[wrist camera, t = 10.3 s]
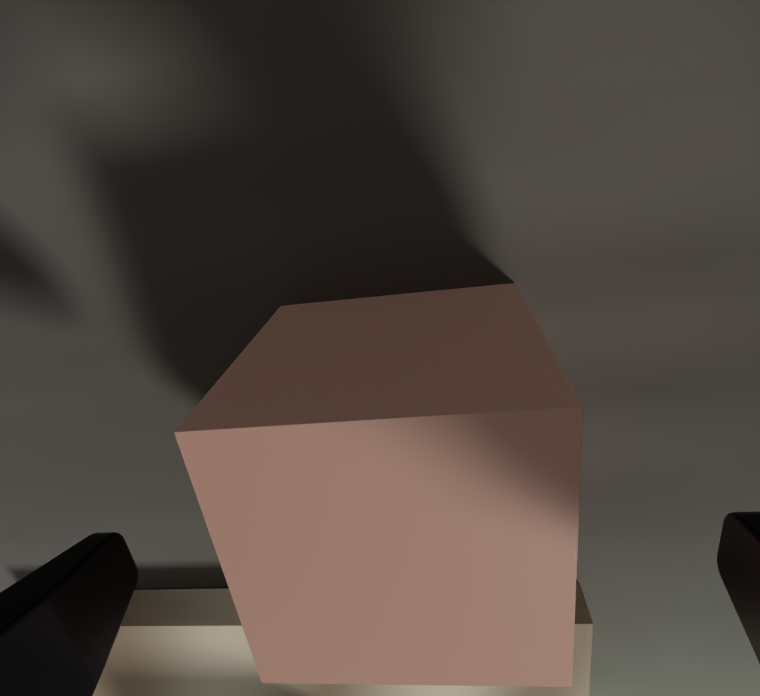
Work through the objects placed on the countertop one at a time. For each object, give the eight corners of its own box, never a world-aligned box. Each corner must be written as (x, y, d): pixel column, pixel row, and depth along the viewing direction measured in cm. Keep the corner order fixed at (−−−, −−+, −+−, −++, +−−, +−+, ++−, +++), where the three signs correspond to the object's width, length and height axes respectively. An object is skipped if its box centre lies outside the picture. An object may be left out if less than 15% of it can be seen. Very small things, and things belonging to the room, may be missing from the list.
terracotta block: (514, 281, 10) (583, 406, 6) (518, 477, 12) (572, 687, 8) (281, 304, 11) (174, 432, 6) (322, 486, 13) (261, 682, 8)
